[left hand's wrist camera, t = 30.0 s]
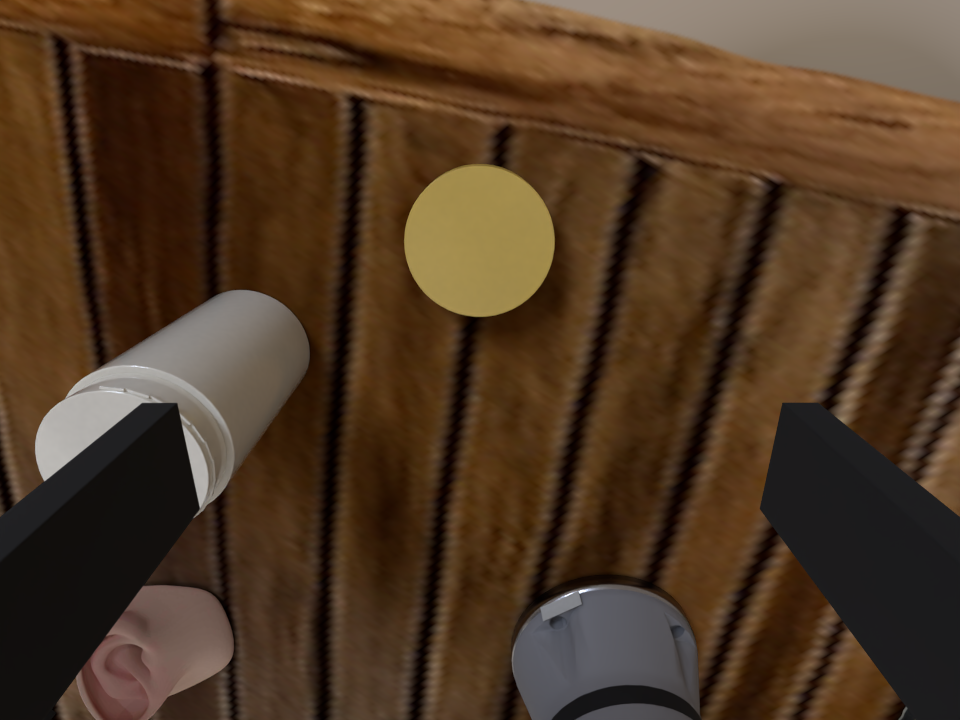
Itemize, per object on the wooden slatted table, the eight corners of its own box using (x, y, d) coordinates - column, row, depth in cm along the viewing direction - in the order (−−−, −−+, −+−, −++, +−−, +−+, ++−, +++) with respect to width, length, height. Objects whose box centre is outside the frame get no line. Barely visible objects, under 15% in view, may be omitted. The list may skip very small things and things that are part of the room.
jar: (311, 405, 41) (223, 548, 27) (196, 396, 41) (46, 536, 27) (308, 295, 38) (208, 391, 24) (184, 284, 38) (8, 376, 24)
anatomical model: (170, 604, 42) (249, 707, 46) (195, 566, 46) (266, 664, 50) (22, 652, 44) (109, 748, 48) (57, 612, 48) (135, 703, 52)
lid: (399, 170, 35) (394, 172, 33) (548, 157, 35) (552, 159, 33) (417, 312, 39) (413, 322, 36) (552, 301, 38) (557, 311, 36)
